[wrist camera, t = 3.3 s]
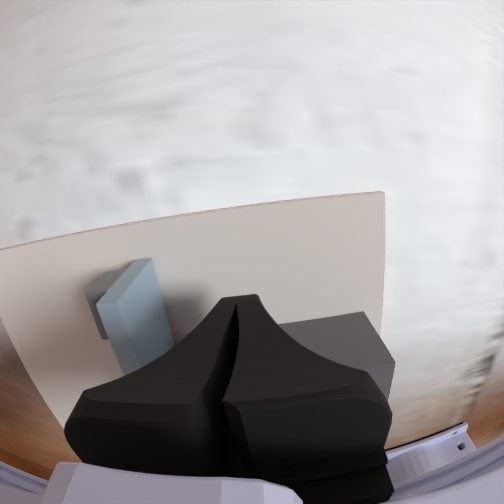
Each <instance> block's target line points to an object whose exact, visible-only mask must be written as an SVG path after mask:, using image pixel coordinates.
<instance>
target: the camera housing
mask: <svg viewBox="0 0 504 504" xmlns="http://www.w3.org/2000/svg"><path fill="white" fill-rule="evenodd" d="M278 325H279V326H280V327H281V328H282V329H283V330H284V331H285V332H286V333H287V334H288V335H290V336H291V337H292V338H293V339H294V340H296V341H297V342H298V343H300V344H301V345H303V346H304V347H306V348H307V349H309V350H311V351H313V352H314V353H316V354H318V355H320V356H322V357H324V358H327V359H329V360H332V361H334V362H337V363H339V364H342V365H346V366H349V367H353V368H356V369H360V370H363V371H367V372H368V373H369V374H370V376H371V377H372V378H373V380H374V381H375V383H376V384H377V385H378V387H379V388H380V390H381V391H382V393H383V394H384V396H385V398H386V400H387V402H388V397H389V393H390V388H391V383H392V378H393V373H394V367H395V361H394V359H393V358H392V356H391V354H390V353H389V351H388V349H387V348H386V346H385V344H384V343H383V341H382V340H381V338H380V336H379V335H378V333H377V332H376V330H375V328H374V327H373V325H372V324H371V322H370V320H369V319H368V317H367V316H366V314H365V313H364V311H361V312H355V313H349V314H343V315H337V316H331V317H324V318H318V319H311V320H304V321H297V322H290V323H282V324H278ZM188 334H189V333H187V334H186V336H187V335H188Z"/></svg>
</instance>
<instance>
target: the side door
mask: <svg viewBox="0 0 504 504" xmlns="http://www.w3.org/2000/svg"><path fill="white" fill-rule="evenodd" d="M85 295H86V298H87V301H88V304H89V307H90V309H91V312H92V315H93V318H94V320H95V323H96V325H97V328H98V330H99V333H100V336H101V338H102V340H109V341H110V343H111V346H112V348H113V351H114V353H115V355H116V358H117V360H118V362H119V365H120V367H121V369H122V371H123V374H124V376H125V375H127V374H129V373H132V372H134V371H136V370H138V369H140V368H142V367H143V366H145V365H147V364H148V363H150V362H152V361H153V360H155V359H157V358H158V357H160V356H161V355H163V354H165V353H166V352H167V351H169V350H170V349H171V348H173V347H174V346H175V345H176V343H175V340H174V337H173V334H172V330H171V327H170V323H169V320H168V316H167V313H166V309H165V306H164V302H163V299H162V295H161V291H160V287H159V283H158V279H157V276H156V272H155V267H154V263H153V259H152V258H148V259H140V260H135V261H134V262H133V263H132V264H131V265H130V266H129V267H128V269H123V270H114V271H106V272H105V273H104V274H103V275H102V276H101V277H100V278H99V279H98V280H97V281H96V282H95V283H94V284H93V285H92V286H91V287H90V288H89V289H88V290H87V291H86V292H85Z"/></svg>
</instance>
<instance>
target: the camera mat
mask: <svg viewBox="0 0 504 504" xmlns="http://www.w3.org/2000/svg"><path fill="white" fill-rule="evenodd" d="M148 258H152V259H153V263H154V267H155V272H156V276H157V279H158V283H159V287H160V291H161V295H162V299H163V302H164V306H165V309H166V313H167V316H168V320H169V323H170V327H171V330H172V334H173V337H174V340H175V343H176V345H177V344H178V343H179V342H180V341H181V340H183V339H184V338H185V337H186V334H187V333H190V332H191V331H192V330H193V329H194V328H195V327H196V326H197V325H198V324H199V323H200V322H201V321H202V320H203V319H204V318H205V317H206V316H207V314H208V313H209V312H210V311H211V310H212V308H213V307H214V306H215V305H216V304H217V302H218V301H219V300H220V299H221V298H222V297H231V296H240V295H249V294H257V295H258V296H259V297H260V300H261V302H262V304H263V306H264V307H265V309H266V310H267V312H268V313H269V314H270V316H271V317H272V318H273V319H274V321H275V322H276V323H277V324H282V323H290V322H297V321H304V320H311V319H318V318H324V317H331V316H337V315H343V314H349V313H355V312H361V311H364V313H365V314H366V316H367V317H368V319H369V320H370V322H371V324H372V325H373V327H374V328H375V330H376V332H377V333H378V335H379V336H380V329H381V318H382V306H383V291H384V270H385V194H384V192H382V191H377V192H365V193H353V194H342V195H332V196H322V197H312V198H303V199H293V200H285V201H276V202H268V203H260V204H252V205H244V206H236V207H229V208H221V209H214V210H207V211H200V212H194V213H187V214H180V215H174V216H168V217H161V218H155V219H149V220H143V221H137V222H132V223H126V224H120V225H115V226H109V227H104V228H98V229H93V230H88V231H83V232H77V233H72V234H67V235H63V236H58V237H53V238H48V239H43V240H39V241H34V242H30V243H25V244H21V245H16V246H12V247H8V248H3V249H0V317H1V320H2V322H3V324H4V327H5V329H6V331H7V333H8V335H9V337H10V340H11V342H12V344H13V346H14V348H15V350H16V352H17V354H18V356H19V357H20V359H21V361H22V363H23V365H24V367H25V369H26V370H27V372H28V374H29V376H30V378H31V379H32V381H33V383H34V384H35V386H36V388H37V389H38V391H39V393H40V394H41V396H42V397H43V399H44V401H45V402H46V404H47V405H48V407H49V408H50V410H51V411H52V413H53V414H54V416H55V417H56V419H57V420H58V421H59V423H60V424H61V426H62V427H63V428H64V427H65V423H66V421H67V419H68V418H69V416H70V414H71V412H72V410H73V408H74V407H75V405H76V403H77V401H78V399H79V398H80V396H81V394H82V392H83V391H84V390H86V389H89V388H92V387H95V386H98V385H101V384H104V383H107V382H110V381H113V380H116V379H118V378H120V377H123V376H124V374H123V371H122V369H121V367H120V365H119V362H118V360H117V358H116V355H115V353H114V351H113V348H112V346H111V343H110V341H109V340H102V338H101V336H100V333H99V330H98V328H97V325H96V323H95V320H94V318H93V315H92V312H91V309H90V307H89V304H88V301H87V298H86V295H85V292H86V291H87V290H88V289H89V288H90V287H91V286H92V285H93V284H94V283H95V282H96V281H97V280H98V279H99V278H100V277H101V276H102V275H103V274H104V273H105V272H106V271H114V270H123V269H128V267H129V266H130V265H131V264H132V263H133V262H134V261H135V260H140V259H148Z"/></svg>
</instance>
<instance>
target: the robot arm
mask: <svg viewBox="0 0 504 504" xmlns="http://www.w3.org/2000/svg"><path fill="white" fill-rule="evenodd" d="M391 423H392V412H391V409H390V406H389V404H388V402H387V400H386V398H385V396H384V394H383V393H382V391H381V390H380V388H379V387H378V385H377V384H376V383H375V381H374V380H373V378H372V377H371V376H370V374H369V373H368V372H367V371H363V370H360V369H356V368H353V367H349V366H346V365H342V364H339V363H337V362H334V361H332V360H329V359H327V358H324V357H322V356H320V355H318V354H316V353H314V352H313V351H311V350H309V349H307V348H306V347H304V346H303V345H301V344H300V343H298V342H297V341H296V340H294V339H293V338H292V337H291V336H290V335H288V334H287V333H286V332H285V331H284V330H283V329H282V328H281V327H280V326H279V325H278V324H277V323H276V322H275V321H274V319H273V318H272V317H271V316H270V314H269V313H268V312H267V310H266V309H265V307H264V306H263V304H262V302H261V300H260V297H259V296H258V295H257V294H249V295H240V296H231V297H222V298H221V299H220V300H219V301H218V302H217V304H216V305H215V306H214V307H213V308H212V310H211V311H210V312H209V313H208V314H207V316H206V317H205V318H204V319H203V320H202V321H201V322H200V323H199V324H198V325H197V326H196V327H195V328H194V329H193V330H192V331H191V332H190V333H189V334H188V335H187V336H186V337H185V338H184V339H183V340H181V341H180V342H179V343H178V344H177V345H175V346H174V347H173V348H171V349H170V350H169V351H167V352H166V353H165V354H163V355H161V356H160V357H158V358H157V359H155V360H153V361H152V362H150V363H148V364H147V365H145V366H143V367H142V368H140V369H138V370H136V371H134V372H132V373H129V374H127V375H125V376H123V377H120V378H118V379H116V380H113V381H110V382H107V383H104V384H101V385H98V386H95V387H92V388H89V389H86V390H84V391H83V392H82V394H81V396H80V398H79V399H78V401H77V403H76V405H75V407H74V408H73V410H72V412H71V414H70V416H69V418H68V419H67V421H66V423H65V427H64V433H65V437H66V440H67V442H68V443H69V445H70V446H71V448H72V449H73V451H74V452H75V453H76V454H77V456H78V457H79V458H80V459H81V460H82V462H83V463H74V462H60V463H58V464H57V465H56V467H55V469H54V470H53V472H52V475H51V477H50V479H49V481H47V480H44V479H42V478H39V477H36V476H34V475H31V474H28V473H26V472H23V471H21V470H19V469H16V468H14V467H12V466H9V465H7V464H5V463H3V462H0V504H504V435H503V436H502V437H500V438H498V439H496V440H495V441H493V442H491V443H489V444H487V445H485V446H484V447H482V448H480V449H478V450H477V449H476V448H475V446H474V444H473V443H472V441H471V439H470V438H469V436H468V434H467V433H466V430H467V428H468V425H467V423H463V424H461V425H458V426H456V427H454V428H451V429H449V430H447V431H444V432H442V433H439V434H436V435H434V436H431V437H428V438H426V439H423V440H420V441H417V442H414V443H411V444H408V445H405V446H402V447H399V448H396V449H392V450H389V451H386V452H385V450H384V446H385V443H386V439H387V436H388V433H389V430H390V426H391Z"/></svg>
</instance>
